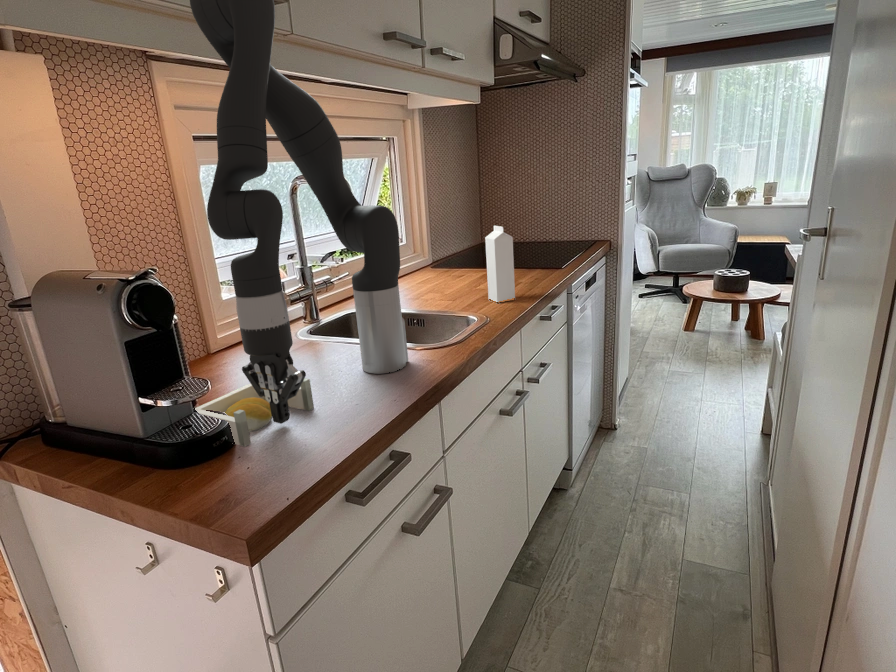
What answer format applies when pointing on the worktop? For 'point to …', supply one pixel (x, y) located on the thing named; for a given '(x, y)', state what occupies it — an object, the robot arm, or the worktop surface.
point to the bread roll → (252, 412)
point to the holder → (239, 420)
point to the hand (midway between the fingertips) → (281, 421)
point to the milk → (500, 265)
